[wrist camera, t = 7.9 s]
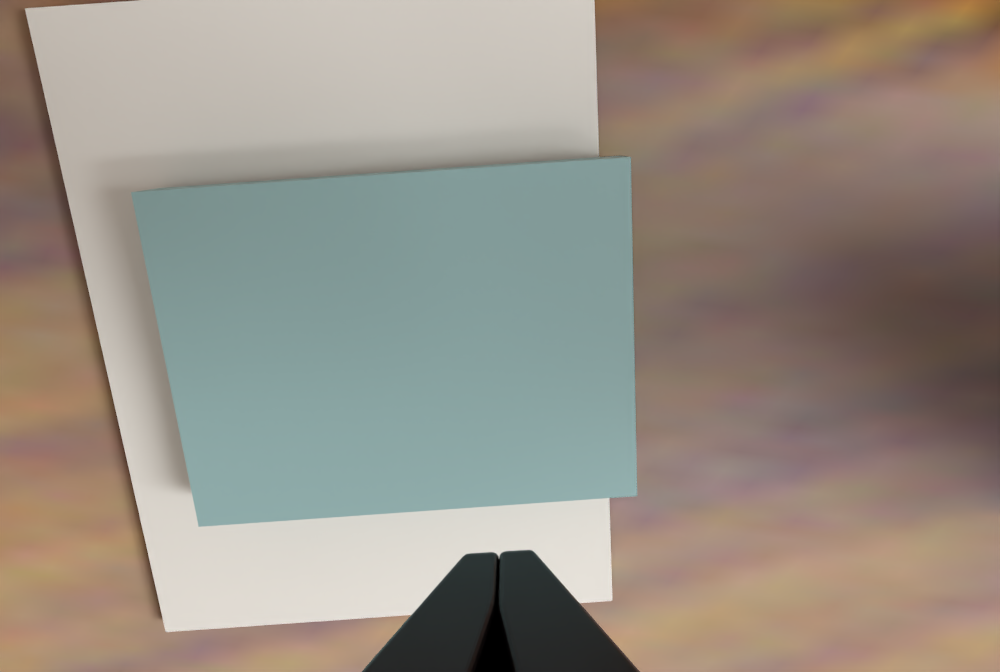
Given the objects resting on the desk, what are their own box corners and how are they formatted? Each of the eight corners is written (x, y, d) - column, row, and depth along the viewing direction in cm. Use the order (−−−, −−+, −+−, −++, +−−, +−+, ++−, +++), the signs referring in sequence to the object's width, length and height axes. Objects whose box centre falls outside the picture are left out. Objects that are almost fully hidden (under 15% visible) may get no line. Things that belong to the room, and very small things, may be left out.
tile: (630, 157, 17) (130, 192, 17) (637, 496, 20) (198, 526, 20) (618, 155, 19) (161, 187, 19) (625, 468, 21) (220, 496, 21)
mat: (591, -29, 18) (593, -32, 18) (610, 595, 23) (612, 600, 22) (31, 10, 18) (24, 8, 18) (169, 625, 23) (165, 632, 22)
